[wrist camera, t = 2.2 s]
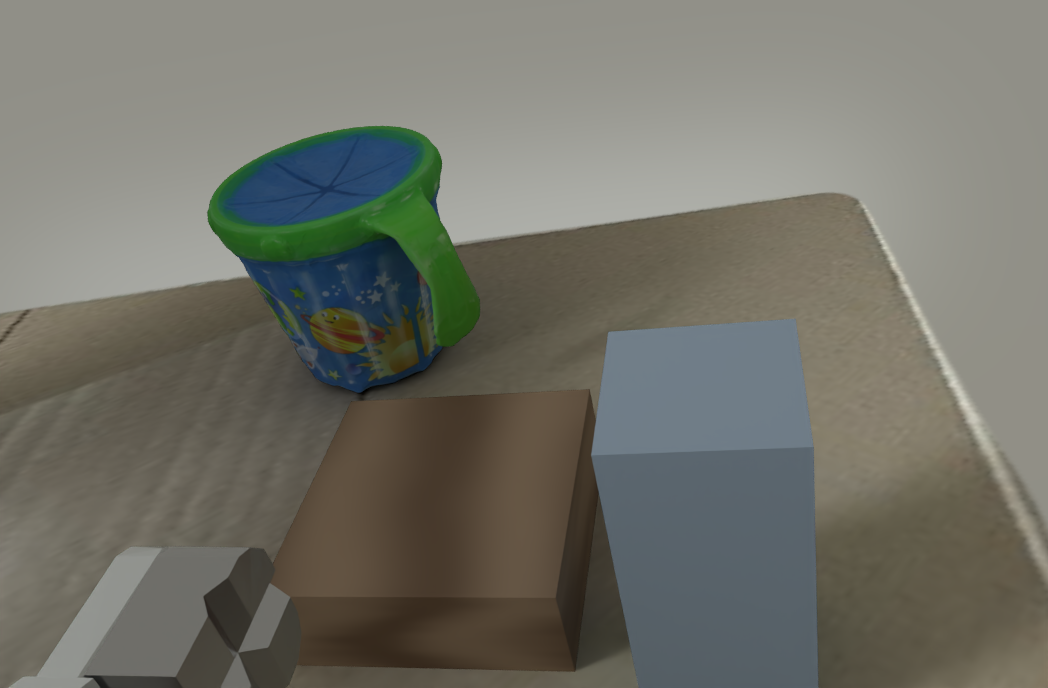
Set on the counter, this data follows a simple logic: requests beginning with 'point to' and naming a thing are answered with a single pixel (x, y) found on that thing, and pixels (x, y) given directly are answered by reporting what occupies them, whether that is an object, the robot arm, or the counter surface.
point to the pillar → (711, 503)
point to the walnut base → (447, 534)
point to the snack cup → (351, 252)
